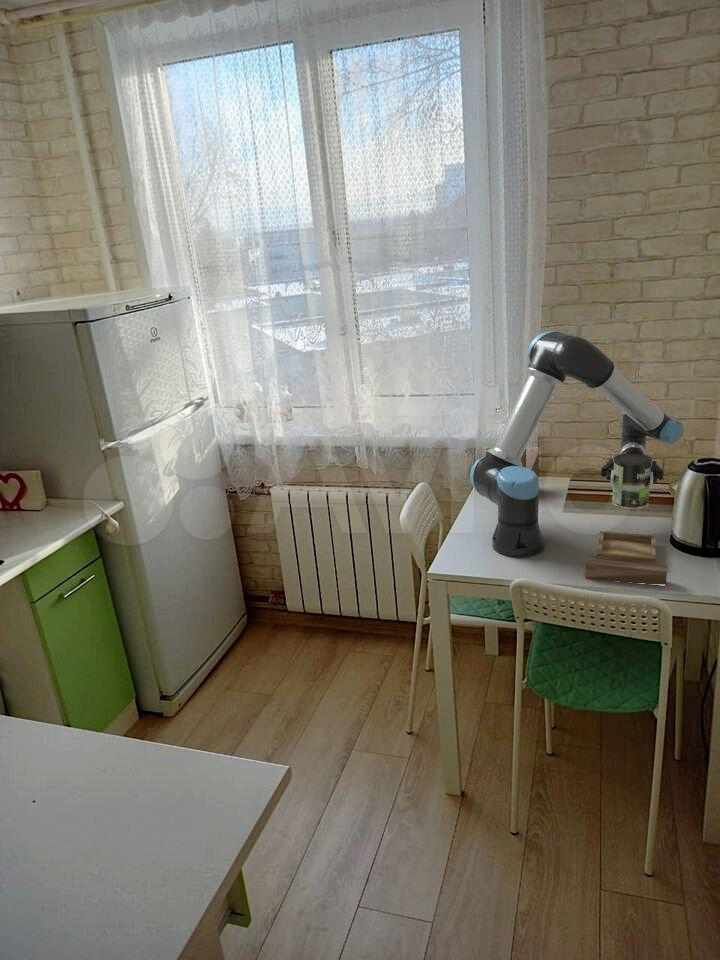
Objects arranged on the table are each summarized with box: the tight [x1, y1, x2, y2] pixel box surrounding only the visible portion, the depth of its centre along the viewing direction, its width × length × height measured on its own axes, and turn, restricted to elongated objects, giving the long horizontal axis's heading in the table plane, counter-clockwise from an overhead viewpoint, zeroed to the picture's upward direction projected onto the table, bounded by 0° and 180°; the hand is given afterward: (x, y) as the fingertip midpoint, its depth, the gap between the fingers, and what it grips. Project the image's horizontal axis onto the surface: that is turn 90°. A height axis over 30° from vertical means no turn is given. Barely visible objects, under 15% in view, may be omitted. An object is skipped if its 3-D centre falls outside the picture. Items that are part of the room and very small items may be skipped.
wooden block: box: [521, 448, 540, 477], centre depth 247 cm, size 4×11×18 cm, turn 136°
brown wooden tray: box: [596, 530, 657, 565], centre depth 202 cm, size 15×15×3 cm
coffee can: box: [611, 453, 653, 511], centre depth 209 cm, size 10×10×14 cm
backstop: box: [584, 557, 668, 585], centre depth 188 cm, size 3×20×5 cm, turn 69°
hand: (631, 483), depth 205 cm, fingers closed on coffee can, 10 cm apart
